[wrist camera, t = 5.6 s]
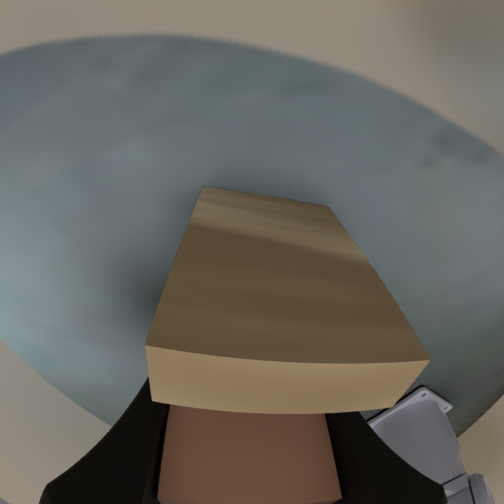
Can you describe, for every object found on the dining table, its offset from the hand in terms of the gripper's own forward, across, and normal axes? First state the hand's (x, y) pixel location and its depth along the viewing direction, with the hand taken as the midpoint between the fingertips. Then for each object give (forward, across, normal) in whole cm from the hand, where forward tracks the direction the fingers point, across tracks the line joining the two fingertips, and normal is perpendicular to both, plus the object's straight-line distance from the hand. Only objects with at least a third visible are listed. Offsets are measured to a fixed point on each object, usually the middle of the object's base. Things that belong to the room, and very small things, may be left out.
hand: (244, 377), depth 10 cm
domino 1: (+4, 0, -5) cm, 6 cm away
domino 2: (+3, 0, 0) cm, 3 cm away
